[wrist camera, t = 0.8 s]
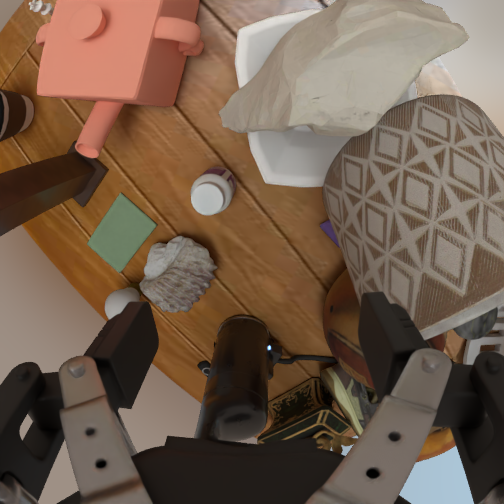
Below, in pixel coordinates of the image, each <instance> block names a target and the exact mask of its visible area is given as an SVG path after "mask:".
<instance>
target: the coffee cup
mask: <svg viewBox="0 0 504 504" xmlns="http://www.w3.org/2000/svg"><path fill="white" fill-rule="evenodd" d="M33 116H34V107H33V103H32V102H31V100H30V99H29V98H28V97H26V96H24V95H20V94H18V93H15V92H11V91H6V90H1V89H0V142H1V141H3V140H5V139H7V138H10V137H12V136H14V135H16V134H17V133H19V132H21V131H23V130H24V129H26V128H27V127H28V126H29V125H30V123H31V122H32V119H33Z"/></svg>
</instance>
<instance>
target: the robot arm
mask: <svg viewBox="0 0 504 504" xmlns="http://www.w3.org/2000/svg"><path fill="white" fill-rule="evenodd" d="M102 329H103V330H101V331H100V332H99V334H98V337H96V338H95V340H94V341H93V343H92V344H91V345H90V347H89V348H88V349H87V351H86V352H85V354H84V355H83V356H76V357H74V358H71V359H69V360H68V361H66V362H64V363H63V364H62V365H61V367H60V369H59V372H52V373H42V372H41V370H40V368H39V366H38V365H37V364H36V363H33V362H25V363H22V364H19V365H18V366H16V367H15V368H14V369H12V370H11V372H10V373H9V374H8V376H7V377H6V378H5V380H4V381H3V383H2V384H1V385H0V504H38V500H39V498H40V495H41V493H42V490H43V488H44V485H45V483H46V481H47V478H48V476H49V473H50V471H51V468H52V466H53V464H54V462H55V459H56V457H57V455H58V453H59V450H60V448H61V446H62V444H63V442H64V439H65V441H66V445H67V449H68V453H69V457H70V461H71V464H72V468H73V471H74V475H75V478H76V481H77V484H78V487H79V491H77V492H76V493H74V494H72V495H71V496H69V497H67V498H65V499H64V500H62V501H60V502H59V503H57V504H411V503H410V502H408V501H407V500H405V499H404V498H402V497H401V496H400V495H399V493H400V491H401V490H402V488H403V486H404V484H405V482H406V480H407V478H408V476H409V475H410V472H411V470H412V468H413V466H414V464H415V462H416V460H417V458H418V456H419V454H420V452H421V450H422V447H423V445H424V443H425V441H426V438H427V436H428V434H429V431H430V429H431V427H432V426H433V427H450V430H451V432H452V435H453V438H454V441H455V444H456V446H457V449H458V452H459V455H460V458H461V461H462V464H463V468H464V470H465V474H466V477H467V480H468V484H469V487H470V490H471V494H472V498H473V501H474V504H504V356H503V355H501V354H499V353H497V352H492V351H486V352H482V353H480V354H478V355H477V356H476V358H475V360H474V363H473V365H467V364H452V362H451V360H450V358H449V357H448V356H447V355H446V354H445V353H443V352H441V351H439V350H436V349H432V348H429V347H428V345H427V344H426V342H425V340H424V339H423V337H422V335H421V334H420V332H419V330H418V329H417V327H415V324H414V322H413V321H412V320H411V317H410V316H409V314H408V313H407V311H406V310H405V309H404V308H402V307H401V306H400V305H398V304H397V303H392V304H390V303H389V301H388V299H387V297H386V296H385V294H384V293H383V292H382V291H380V292H367V293H363V294H362V298H361V307H360V316H359V325H358V338H359V344H360V347H361V349H362V352H363V355H364V358H365V361H366V364H367V367H368V370H369V373H370V376H371V379H372V382H373V385H374V388H375V391H376V394H377V397H378V401H379V404H380V405H379V406H378V408H377V410H376V411H375V413H374V415H373V416H372V418H371V419H370V421H369V422H368V424H367V426H366V427H365V429H364V430H363V432H362V433H361V435H360V436H359V438H358V439H357V441H356V442H355V444H354V445H353V446H352V448H351V450H350V451H349V452H348V454H347V455H346V456H344V455H342V454H339V453H337V452H334V451H330V450H326V449H320V448H317V446H316V438H307V439H289V440H276V441H271V442H267V443H262V444H247V443H241V442H235V441H240V440H245V439H248V438H251V437H254V436H256V435H257V434H259V433H260V432H261V431H262V430H263V429H264V428H265V426H266V423H267V417H268V380H270V379H271V378H272V377H273V367H274V365H275V364H276V363H282V364H291V363H293V362H294V361H296V360H316V361H323V362H329V363H335V364H338V361H337V360H336V359H334V358H328V357H322V356H313V355H297V356H293V357H292V358H290V359H282V358H280V357H281V356H282V347H281V346H278V345H276V344H273V340H272V339H271V338H270V333H269V330H268V328H267V326H266V325H265V324H264V323H263V322H262V321H260V320H259V319H257V318H255V317H252V316H247V315H237V316H233V317H230V318H228V319H226V320H225V321H224V322H223V323H222V324H221V325H220V327H219V330H218V334H217V340H216V344H215V342H214V353H213V357H212V361H211V366H210V370H209V374H208V379H207V383H206V387H205V392H204V396H203V401H202V406H201V410H200V415H199V420H198V424H197V428H196V432H195V436H194V438H185V437H174V436H167V439H166V442H165V446H159V447H154V448H150V449H147V450H144V451H141V452H139V453H137V451H136V449H135V447H134V445H133V443H132V441H131V439H130V437H129V434H128V432H127V430H126V428H125V426H124V423H123V421H122V419H121V416H120V415H119V413H118V409H119V408H127V409H131V408H132V406H133V404H134V401H135V399H136V397H137V394H138V392H139V390H140V388H141V385H142V383H143V381H144V379H145V376H146V374H147V371H148V370H149V367H150V365H151V363H152V361H153V358H154V356H155V354H156V352H157V349H158V344H159V338H158V333H157V329H156V325H155V321H154V317H153V314H152V310H151V306H150V304H149V302H147V301H130V302H128V303H127V305H126V306H125V308H124V309H123V310H122V312H121V313H120V314H117V315H115V316H114V317H112V318H111V319H110V320H108V321H107V323H106V324H105V326H104V327H103V328H102ZM27 414H28V415H29V416H30V418H31V419H32V420H33V423H32V425H31V426H30V428H29V430H28V432H27V434H26V435H25V437H24V439H23V441H22V439H21V437H20V434H19V430H20V426H21V424H22V422H23V420H24V419H25V417H26V415H27Z"/></svg>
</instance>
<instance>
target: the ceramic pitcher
mask: <svg viewBox="0 0 504 504" xmlns="http://www.w3.org/2000/svg"><path fill="white" fill-rule="evenodd" d="M359 316H360V304H359V301H358V298H357V295H356V292H355V289H354V286H353V283H352V280H351V277H350V274H349V271H348V268H347V269H346V270H345V271H344V272H343V273H342V274H341V275H340V277H339V278H338V279H337V280H336V281H335V283H334V284H333V285H332V287H331V289H330V290H329V292H328V295H327V297H326V300H325V305H324V313H323V327H324V333H325V338H326V340H327V343H328V346H329V348H330V350H331V352H332V354H333V355H334V357H335V358H336V360H337V361H338V363H339V364H340V365H341V367H342V368H343V369H344V370H345V371H346V372H347V373H348V374H349V375H350V376H351V377H353V378H354V379H355V380H356V381H358V382H360V383H362V384H364V385H366V386H368V387H370V388H372V389H375V388H374V385H373V382H372V379H371V376H370V373H369V370H368V367H367V364H366V361H365V358H364V355H363V352H362V349H361V347H360V344H359V338H358V325H359ZM446 338H447V332H444V333H442V334H440V335H437V336H435V337H432V338H430V339H427V340H425V342H426V344H427V345H428V347H429V348H432V349H436V350H439V351H441V352H443V351H444V347H445V343H446ZM454 446H456V444H455V441H454V438H453V435H452V432H451V430H450V427H433V426H432V427H431V429H430V431H429V434H428V436H427V438H426V441H425V443H424V445H423V447H422V450H421V452H420V454H419V456H418V458H417V460H416V462H419V461H422V460H426V459H429V458H432V457H435V456H438V455H440V454H442V453H444V452H446V451H448V450H450V449H451V448H453V447H454Z"/></svg>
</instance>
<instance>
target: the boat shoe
mask: <svg viewBox="0 0 504 504" xmlns="http://www.w3.org/2000/svg"><path fill="white" fill-rule="evenodd" d="M320 375H321V378H322V380H323V382H324V384H325V386H326V388H327V389H328V391H329V393H330V394H331V396H332V397H333V399H334V400H335V402H336V403H337V405H338V406H339V408H340V410H341V411H342V413H343V415H344V416H345V418H346V420H348V421H349V422H350V424H351V427H352V428H353V430H354V431H355V433H356V434H357V436H358V437H359V436H360V435H361V433H362V432H363V430H364V429H365V427H366V426H367V424H368V422H369V421H370V419H371V418H372V416H373V415H374V413H375V411H376V410H377V407H378V406H379V404H378V403H379V401H378V397H377V394H376V391H375V390H374V389H372V388H368V387H365V385H364V384H362V383H360V382H358V381H356V380H355V379H354V378H353V377H351V376H350V375H349V374H348V373H347V372H346V371H345V370H344V369H343V368H342V367H341V365H340V364H339V363H338V364H336V365H334V366H333V367H329V368H327V369H325V370H323V371H321V372H320Z"/></svg>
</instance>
